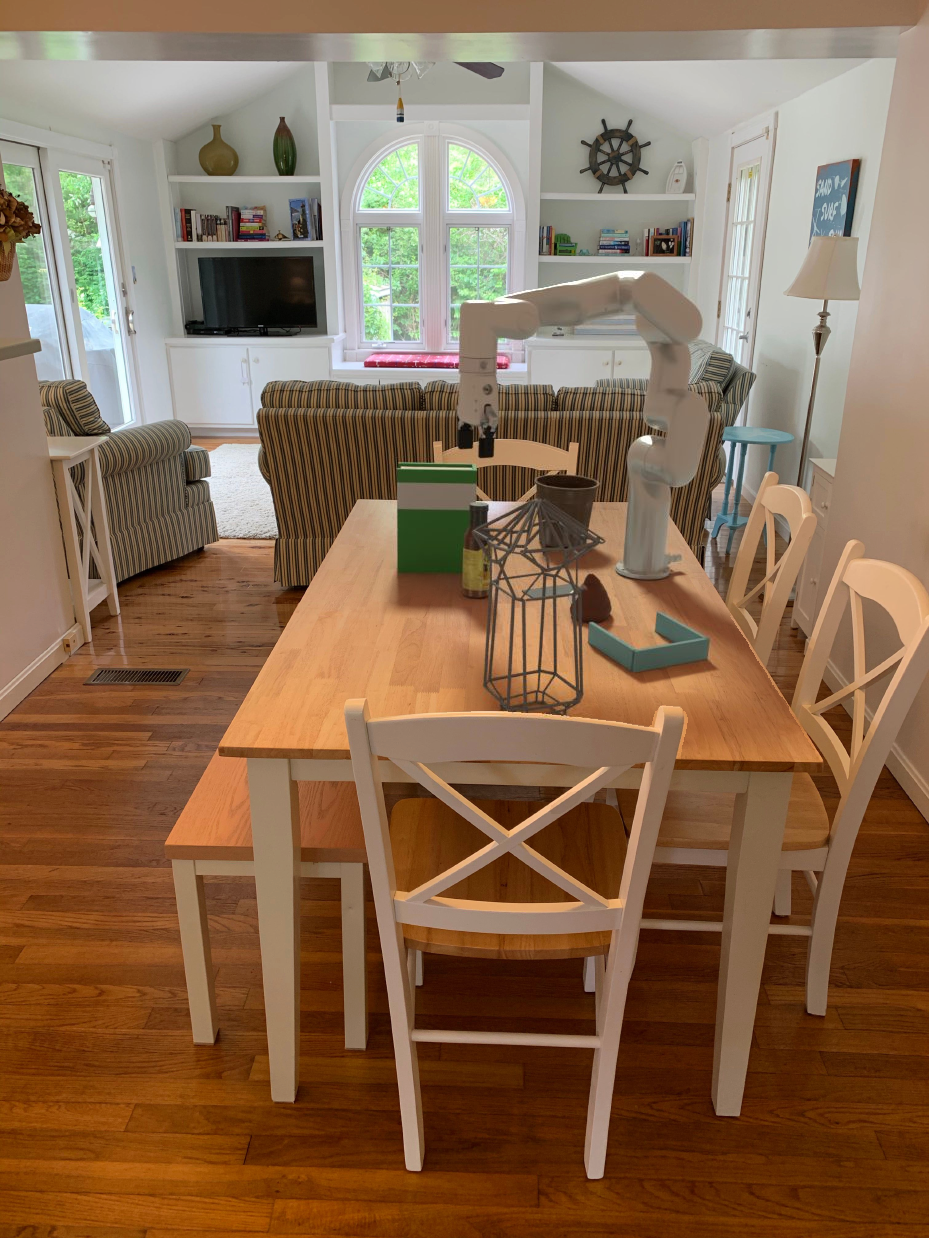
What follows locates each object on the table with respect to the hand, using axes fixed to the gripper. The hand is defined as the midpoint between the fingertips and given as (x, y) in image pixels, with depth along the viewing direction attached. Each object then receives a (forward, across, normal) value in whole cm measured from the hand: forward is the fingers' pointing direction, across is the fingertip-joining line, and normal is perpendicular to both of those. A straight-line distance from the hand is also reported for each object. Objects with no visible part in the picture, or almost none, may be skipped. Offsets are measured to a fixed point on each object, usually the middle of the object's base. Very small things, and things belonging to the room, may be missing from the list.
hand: (475, 453), depth 190 cm
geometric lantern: (+31, -55, +16) cm, 65 cm away
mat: (+31, -5, -17) cm, 35 cm away
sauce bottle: (+31, 0, -1) cm, 31 cm away
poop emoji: (+31, -20, -17) cm, 41 cm away
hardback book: (+31, +20, 0) cm, 37 cm away
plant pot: (+31, +28, -39) cm, 57 cm away
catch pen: (+31, -40, -18) cm, 53 cm away
